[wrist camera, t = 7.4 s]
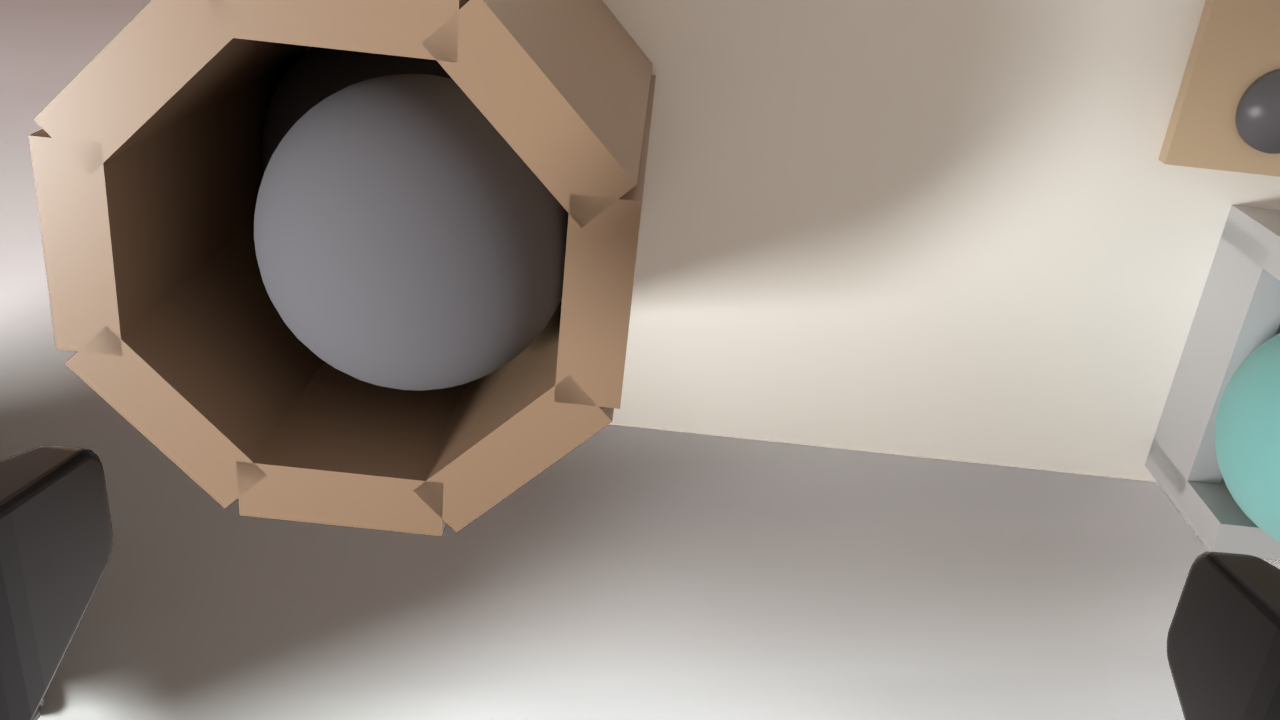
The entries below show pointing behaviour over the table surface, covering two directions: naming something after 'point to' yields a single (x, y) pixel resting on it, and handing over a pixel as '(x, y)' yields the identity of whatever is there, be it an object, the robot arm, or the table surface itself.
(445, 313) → the charcoal ball
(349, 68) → the charcoal ball in tube
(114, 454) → the table surface
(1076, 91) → the board
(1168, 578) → the table surface
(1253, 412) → the teal ball
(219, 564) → the table surface
